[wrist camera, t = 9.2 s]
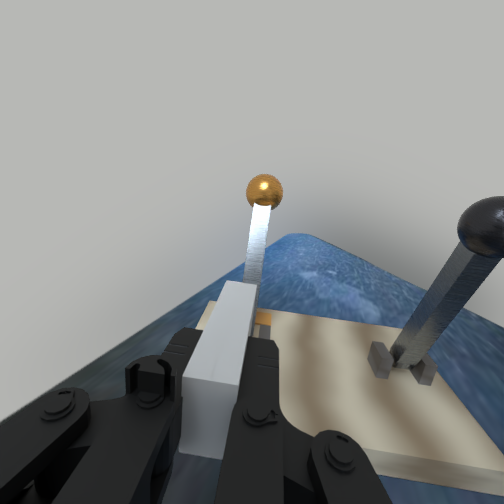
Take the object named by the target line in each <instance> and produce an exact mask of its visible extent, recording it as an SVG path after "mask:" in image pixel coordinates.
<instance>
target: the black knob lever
mask: <svg viewBox="0 0 504 504" xmlns="http://www.w3.org/2000/svg"><path fill="white" fill-rule="evenodd" d="M457 232H458V236H459V239H460V242H459V244H458V245H457V247H456V248H455V250H454V251H453V253H452V254H451V256H450V258H449V259H448V261H447V262H446V264H445V265H444V267H443V268H442V270H441V271H440V273H439V274H438V276H437V277H436V279H435V280H434V282H433V284H432V285H431V287H430V288H429V290H428V291H427V293H426V294H425V296H424V297H423V299H422V300H421V302H420V303H419V305H418V307H417V308H416V310H415V311H414V313H413V314H412V316H411V317H410V319H409V320H408V322H407V323H406V325H405V327H404V328H403V330H402V331H401V333H400V334H399V336H398V337H397V339H396V340H395V342H394V343H393V345H392V346H391V348H390V352H389V353H390V354H391V356H392V358H393V359H394V361H393V364H392V367H394V368H400V369H407V370H413V369H414V368H415V366H416V365H417V364H418V363H419V361H420V360H421V359H422V358H423V356H424V355H425V354H426V353H427V351H428V350H429V349H430V348H431V346H432V345H433V344H434V343H435V341H436V340H437V339H438V338H439V336H440V335H441V334H442V333H443V331H444V330H445V329H446V328H447V326H448V325H449V324H450V323H451V321H452V320H453V319H454V318H455V316H456V315H457V314H458V313H459V311H460V310H461V309H462V308H463V306H464V305H465V304H466V303H467V301H468V300H469V299H470V298H471V296H472V295H473V294H474V293H475V291H476V290H477V289H478V288H479V286H480V285H481V284H482V283H483V281H484V280H485V279H486V277H487V276H488V275H489V274H490V273H491V271H492V270H493V269H494V267H495V266H496V265H497V264H498V263H499V261H500V260H501V259H502V258H504V196H496V197H490V198H486V199H482V200H480V201H478V202H476V203H474V204H472V205H471V206H470V207H469V208H467V209H466V210H465V212H464V213H463V214H462V215H461V217H460V219H459V222H458V227H457Z"/></svg>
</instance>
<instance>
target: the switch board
mask: <svg viewBox="0 0 504 504" xmlns="http://www.w3.org/2000/svg"><path fill="white" fill-rule="evenodd" d="M216 303H217V302H215V301H209V303H208V305H207V307H206V309H205V311H204V313H203V315H202V317H201V319H200V321H199V323H198V325H197V327H196V329H198V330H204V328H205V326H206V324H207V322H208V320H209V318H210V315H211V313H212V311H213V309H214V307H215V305H216ZM402 330H403V329H399V328H393V327H386V326H379V325H372V324H365V323H359V322H352V321H345V320H338V319H331V318H324V317H318V316H311V315H304V314H297V313H290V312H283V311H277V310H270V309H263V308H257V312H256V319H255V326H254V334H253V336H252V337H256V338H263V339H269V340H274V341H275V343H276V345H277V347H278V348H279V403H280V409H281V411H282V413H283V415H284V416H285V418H286V419H287V421H289V422H290V423H291V424H292V425H293V426H294V427H296V428H298V429H299V430H301V431H303V432H305V433H307V434H309V435H311V436H313V437H315V436H316V435H317V434H318V433H319V432H321V431H325V430H335V431H340V432H342V433H344V434H346V435H348V436H350V437H351V438H352V439H353V440H355V441H356V442H357V443H358V444H359V445H360V446H361V448H362V449H363V450H364V452H365V453H366V455H367V457H368V459H369V460H370V462H371V464H372V466H373V468H374V470H375V472H376V474H378V475H384V476H390V477H395V478H401V479H407V480H413V481H418V482H424V483H430V484H436V485H441V486H447V487H453V488H459V489H464V490H470V491H476V492H482V493H487V494H493V495H499V496H504V455H503V454H502V453H501V451H500V450H499V449H498V448H497V446H496V445H495V444H494V443H493V441H492V440H491V439H490V437H489V436H488V435H487V434H486V432H485V431H484V430H483V429H482V427H481V426H480V425H479V424H478V422H477V421H476V420H475V419H474V417H473V416H472V415H471V413H470V412H469V411H468V410H467V408H466V407H465V406H464V405H463V403H462V402H461V401H460V400H459V398H458V397H457V396H456V395H455V393H454V392H453V391H452V389H451V388H450V387H449V386H448V384H447V383H446V382H445V381H444V379H443V378H442V377H441V376H440V374H439V373H438V372H437V368H438V366H437V365H436V363H435V362H434V361H433V360H432V358H431V357H430V356H429V355H428V354H427V353H426V354H425V355H424V356H423V358H422V359H421V360H420V361H419V363H418V364H417V365H416V366H415V368H414V369H413V370H407V369H400V368H394V367H392V364H393V361H394V359H393V358H392V356H391V354H390V353H389V352H390V348H391V346H392V345H393V343H394V342H395V340H396V339H397V337H398V336H399V334H400V333H401V331H402Z"/></svg>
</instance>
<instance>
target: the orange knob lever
mask: <svg viewBox="0 0 504 504" xmlns="http://www.w3.org/2000/svg"><path fill="white" fill-rule="evenodd" d="M246 196H247V200H248V202H249V204H250V205H251V206H252V207H253V215H252V222H251V229H250V235H249V242H248V249H247V256H246V262H245V269H244V276H243V283H248V284H255V285H257V288H256V296H255V304H254V311H253V319H252V327H251V334H250V337H252V336H253V334H254V326H255V319H256V312H257V305H258V297H259V290H260V283H261V275H262V268H263V261H264V254H265V246H266V238H267V231H268V224H269V217H270V211H271V210H273V209H275V208H276V207H277V206H278V205H279V203H280V202H281V200H282V197H283V189H282V186H281V183H280V182H279V181H278V179H276V178H275V177H274V176H271V175H268V174H261V175H258V176H256V177H254V178H253V179H252V180H251V181H250V182H249V184H248V187H247V190H246Z"/></svg>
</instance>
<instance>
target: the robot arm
mask: <svg viewBox="0 0 504 504" xmlns="http://www.w3.org/2000/svg"><path fill="white" fill-rule="evenodd" d="M256 288H257V285H255V284H248V283H241V282H234V281H226V283H225V285H224V287H223V290H222V292H221V294H220V296H219V298H218V300H217V303H216V305H215V307H214V309H213V311H212V313H211V315H210V318H209V320H208V322H207V324H206V326H205V328H204V330H198V329H192V328H185V327H184V328H183V329H181V330H180V331H178V332H177V333H175V334H174V336H173V337H172V339H171V340H170V342H169V345H167V347H166V348H165V350H164V352H163V353H162V355H150V356H145V357H141V358H139V359H137V360H135V361H133V362H131V363H130V364H129V365H128V366H127V367H126V368H125V378H126V394H125V396H123V397H121V398H116V399H111V400H101V401H92V402H90V399H89V395H88V393H87V392H85V391H84V390H83V389H79V388H74V387H73V388H62V389H59V390H56V391H53V392H50V393H48V394H47V395H45V396H43V397H41V398H40V399H38V400H37V401H35V402H34V403H32V404H31V405H30V406H28V407H27V408H25V409H24V410H23V411H21V412H20V413H18V414H17V415H16V416H14V417H13V418H11V419H10V420H9V421H7V422H6V423H4V424H3V425H2V426H0V504H161V502H162V500H163V497H164V494H165V491H166V488H167V485H168V482H169V479H170V477H171V474H172V468H173V456H174V454H175V451H176V448H177V445H178V443H179V452H181V453H186V454H192V455H197V456H203V457H209V458H214V459H220V460H222V465H221V470H220V475H219V480H218V486H217V491H216V496H215V501H214V504H392V502H391V500H390V498H389V496H388V494H387V492H386V490H385V489H384V487H383V485H382V483H381V481H380V479H379V477H378V475H377V474H376V472H375V470H374V468H373V466H372V464H371V462H370V460H369V459H368V457H367V455H366V453H365V452H364V450H363V449H362V448H361V446H360V445H359V444H358V443H357V442H356V441H355V440H353V439H352V438H351V437H350V436H348V435H346V434H344V433H342V432H340V431H335V430H325V431H321V432H319V433H318V434H317V435H316V436H315V437H313V436H311V435H309V434H307V433H305V432H303V431H301V430H299V429H298V428H296V427H294V426H293V425H292V424H291V423H290V422H289V421H287V419H286V418H285V416H284V415H283V413H282V411H281V409H280V403H279V348H278V347H277V345H276V343H275V341H274V340H269V339H263V338H256V337H250V334H251V327H252V319H253V311H254V304H255V296H256Z"/></svg>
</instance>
